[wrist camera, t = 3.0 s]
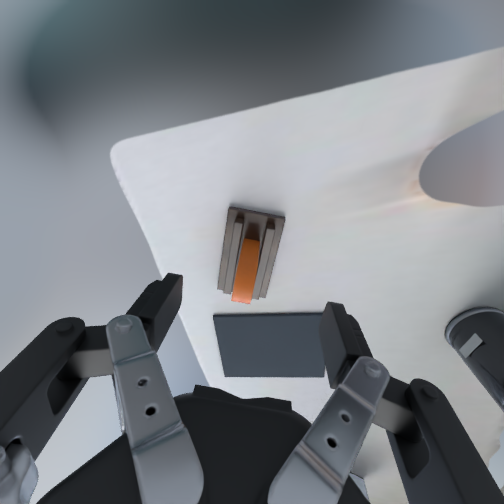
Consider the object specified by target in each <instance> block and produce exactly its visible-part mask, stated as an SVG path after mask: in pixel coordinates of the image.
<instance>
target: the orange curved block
mask: <svg viewBox="0 0 504 504" xmlns="http://www.w3.org/2000/svg"><path fill="white" fill-rule="evenodd" d="M259 247H260V241H256V240H250V239H245V238H244V240H243V244H242V249H241V253H240V257H239V262H238V267H237V272H236V277H235V282H234V287H233V293H232V299H231V301H235V302H241V303H246V304H250V302H251V299H252V294H253V290H254V285H255V279H256V274H257V267H258V258H259Z"/></svg>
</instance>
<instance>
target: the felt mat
mask: <svg viewBox="0 0 504 504" xmlns="http://www.w3.org/2000/svg"><path fill="white" fill-rule="evenodd" d="M322 315H323V313H298V314H247V315H213V320H214V325H215V330H216V335H217V340H218V345H219V350H220V355H221V360H222V365H223V370H224V375H225V377H324V372H325V361H324V356H323V352H322V347H321V343H320V338H319V323H320V321H321V318H322Z"/></svg>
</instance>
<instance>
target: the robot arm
mask: <svg viewBox="0 0 504 504" xmlns="http://www.w3.org/2000/svg"><path fill="white" fill-rule="evenodd" d="M182 286H183V276H182V275H179V274H173V273H168V274H167V275H166V276H165V278H164V279H163V280H162V281H159V280H156V281H154V282H152V283H151V284H149V285H148V286H147V288H146V289H145V290H144V292H143V293H142V294H141V295H140V297H139V298H138V299H137V300H136V301H135V303H134V304H133V305H132V307H131V308H130V309H129V310H128V312H127V313H126V314H125V315H121V316H118V317H115V318H114V319H112V320H111V321H110V322H109V323H108V324H107V325H103V326H89V327H85V323H84V321H83V320H82V319H80V318H76V317H68V318H63V319H59V320H57V321H55V322H53V323H51V324H50V325H48V326H47V327H46V328H45V329H44V330H43V331H42V332H41V333H40V334H39V335H38V336H37V337H36V338H35V339H34V340H33V341H32V342H31V343H30V344H29V345H28V346H27V347H26V348H25V349H24V350H23V351H21V353H19V354H18V356H17V357H15V358H14V359H13V360H12V361H11V362H10V363H9V364H8V365H7V366H6V367H5V368H4V369H3V370H2V371H1V372H0V504H29V502H30V499H31V496H32V494H33V492H34V490H35V487H36V485H37V482H38V470H37V467H36V465H35V460H36V459H37V457H38V456H39V454H40V453H41V451H42V450H43V448H44V447H45V445H46V444H47V442H48V440H49V439H50V437H51V436H52V434H53V433H54V431H55V430H56V428H57V427H58V425H59V424H60V422H61V421H62V419H63V418H64V416H65V414H66V413H67V411H68V410H69V408H70V407H71V405H72V404H73V402H74V401H75V399H76V398H77V396H78V394H79V393H80V392H81V390H82V388H83V387H84V385H85V384H86V382H87V381H88V379H89V378H90V377H97V376H106V375H112V380H113V386H114V391H115V396H116V401H117V407H118V413H119V419H120V425H121V432H122V436H120V437H119V438H118V439H116V440H115V441H114V442H112V443H111V444H110V445H108V446H107V447H106V448H104V449H103V450H102V451H101V452H99V453H98V454H97V455H95V456H94V457H93V458H92V459H90V460H89V461H87V462H86V463H85V464H84V465H82V466H81V467H80V468H79V469H77V470H76V471H74V472H73V473H72V474H71V475H69V476H68V477H67V478H65V479H64V480H63V481H62V482H60V483H59V484H57V485H56V486H55V487H54V488H52V489H51V490H50V491H49V492H48V493H46V495H44V496H43V497H42V498H41V499H40V500H39V501H38V502H37V503H36V504H370V502H369V501H368V500H367V498H366V497H365V496H364V494H363V493H362V491H361V490H360V489H359V487H358V486H357V485H356V483H355V482H354V480H353V479H352V478H351V476H350V475H349V473H350V471H351V468H352V466H353V464H354V462H355V459H356V457H357V455H358V453H359V450H360V448H361V446H362V444H363V441H364V439H365V437H366V435H367V432H368V430H369V428H370V426H371V423H374V424H376V425H378V426H380V427H382V428H384V429H386V432H387V435H388V439H389V442H390V445H391V448H392V451H393V454H394V457H395V461H396V464H397V467H398V470H399V473H400V476H401V479H402V483H403V486H404V489H405V492H406V495H407V498H408V501H409V504H504V496H503V494H502V493H501V491H500V489H499V487H498V486H497V484H496V482H495V480H494V479H493V478H492V475H491V474H490V472H489V470H488V468H487V467H486V465H485V463H484V462H483V460H482V458H481V456H480V455H479V453H478V451H477V450H476V448H475V446H474V444H473V443H472V441H471V439H470V438H469V436H468V434H467V432H466V431H465V429H464V427H463V426H462V424H461V422H460V420H459V419H458V417H457V415H456V413H455V412H454V410H453V408H452V407H451V405H450V403H449V401H448V400H447V398H446V396H445V395H444V394H443V393H442V391H441V390H440V389H438V388H437V387H436V386H435V385H433V384H432V383H430V382H428V381H426V380H423V379H413V380H412V381H411V383H410V384H407V383H405V382H402V381H400V380H398V379H395V378H393V377H391V376H390V375H389V372H388V370H387V369H386V368H385V366H384V365H383V364H382V363H380V362H379V361H377V360H376V359H374V358H373V356H372V354H371V351H370V349H369V347H368V344H367V342H366V340H365V338H364V335H363V333H362V331H361V328H360V326H359V324H358V322H357V321H356V320H355V318H354V317H353V316H352V315H349V314H347V313H346V310H345V308H344V305H343V304H340V303H334V302H328V303H327V304H326V307H325V310H324V312H323V315H322V318H321V321H320V323H319V338H320V343H321V347H322V352H323V356H324V361H325V365H326V370H327V374H328V379H329V384H330V388H332V389H336V390H335V391H334V393H333V394H332V396H331V397H330V398H329V400H328V401H327V403H326V404H325V406H324V407H323V409H322V410H321V412H320V413H319V415H318V416H317V418H316V419H315V421H314V422H313V424H311V423H310V422H309V421H308V420H307V419H306V418H304V417H303V416H302V415H300V414H298V413H297V412H295V411H293V410H292V406H291V401H286V400H281V399H275V398H269V397H264V398H252V399H241V398H239V397H237V396H234V395H232V394H230V393H228V392H225V391H223V390H221V389H218V388H212V387H206V386H201V385H195V388H194V391H193V393H186V394H182V395H179V396H176V397H174V398H173V396H172V394H171V391H170V388H169V386H168V383H167V380H166V378H165V375H164V372H163V370H162V367H161V364H160V362H159V359H158V356H157V354H156V353H157V351H158V349H159V347H160V345H161V343H162V341H163V340H164V338H165V336H166V334H167V332H168V330H169V327H170V326H171V324H172V322H173V320H174V318H175V316H176V314H177V312H178V310H179V308H180V305H181V301H182ZM445 337H446V340H447V341H448V343H449V344H450V345H451V346H452V347H453V348H454V349H455V351H456V352H457V353H458V354H459V356H460V357H461V358H462V360H463V361H464V362H465V363H466V365H467V366H468V367H469V369H470V370H471V371H472V372H473V374H474V375H475V376H476V377H477V379H478V380H479V381H480V382H481V384H482V385H483V386H484V388H485V389H486V390H487V391H488V393H489V394H490V395H491V396H492V398H493V399H494V400H495V401H496V403H497V404H498V405H499V407H500V408H501V409H502V410H503V412H504V312H502V311H501V310H499V309H496V308H490V307H482V308H475V309H472V310H469V311H466V312H464V313H462V314H460V315H459V316H457V317H456V318H455V319H453V320H452V321H451V322H450V324H449V325H448V327H447V329H446V332H445Z"/></svg>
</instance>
